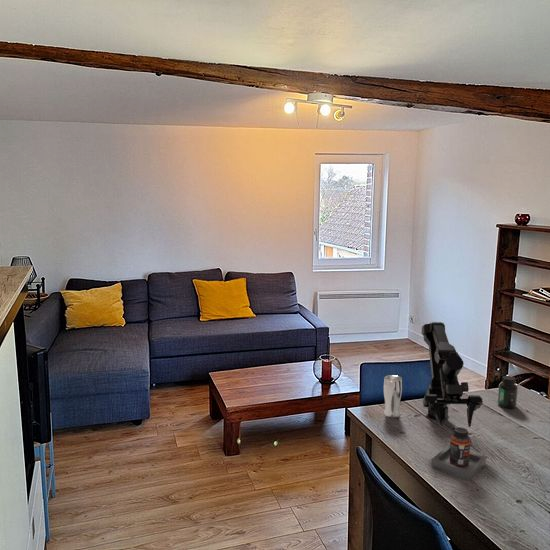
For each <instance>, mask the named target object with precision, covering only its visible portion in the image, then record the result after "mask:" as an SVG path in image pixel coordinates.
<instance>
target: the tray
mask: <svg viewBox="0 0 550 550" xmlns="http://www.w3.org/2000/svg"><path fill="white" fill-rule="evenodd" d="M486 465H487V457H485V456H483V455H479V454H478V453H477V454H476V453H473V452H471V451H470V456H469V464H468V466H466V467H458V466H455V465H453V464H452V463H451V462H450V444H448V445H447V446H446V447H445V448H443V449H442V450H441V451H439V452H438V453H437V454H436V455H435V456H433V457H432V458H431V467H433V468H435V467H436V468H435V469H438V470H441V471H443V472H446V473H448V474H450V475H453V476H455V477H458V478H461V479H463V480H466V481H469V482H470V481H472V480H473V479H474V478H475V477H476V476H477V475H478V474H479V473H480V472H481V471H482V470H483V468H485V466H486Z"/></svg>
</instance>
